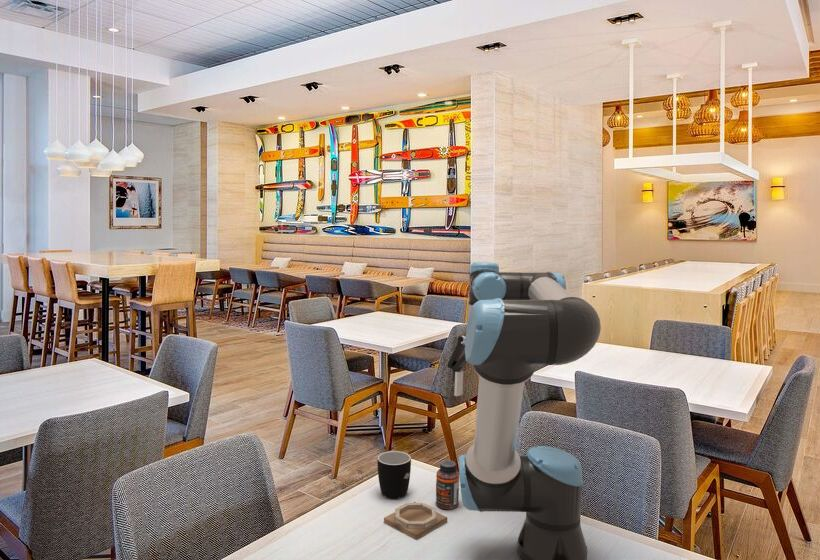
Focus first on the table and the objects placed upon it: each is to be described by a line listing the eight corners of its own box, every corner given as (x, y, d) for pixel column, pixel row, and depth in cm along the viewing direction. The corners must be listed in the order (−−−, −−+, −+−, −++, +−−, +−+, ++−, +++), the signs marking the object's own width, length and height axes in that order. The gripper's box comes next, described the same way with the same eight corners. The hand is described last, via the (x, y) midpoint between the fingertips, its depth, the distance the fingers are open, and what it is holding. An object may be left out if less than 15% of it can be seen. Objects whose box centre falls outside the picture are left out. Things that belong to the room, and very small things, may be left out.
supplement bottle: (432, 507, 150) (432, 465, 148) (440, 497, 155) (440, 456, 154) (454, 512, 147) (455, 469, 146) (461, 501, 153) (462, 460, 152)
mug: (407, 503, 152) (407, 466, 151) (373, 499, 154) (373, 463, 153) (415, 482, 164) (415, 447, 163) (384, 479, 165) (384, 445, 164)
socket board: (447, 521, 143) (447, 512, 143) (416, 539, 135) (416, 530, 135) (414, 506, 150) (414, 497, 150) (383, 522, 142) (383, 513, 142)
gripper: (531, 325, 148) (527, 407, 149) (453, 314, 164) (450, 388, 166) (515, 328, 142) (511, 413, 144) (436, 316, 159) (433, 393, 160)
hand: (478, 400), depth 155 cm, fingers open, 13 cm apart
